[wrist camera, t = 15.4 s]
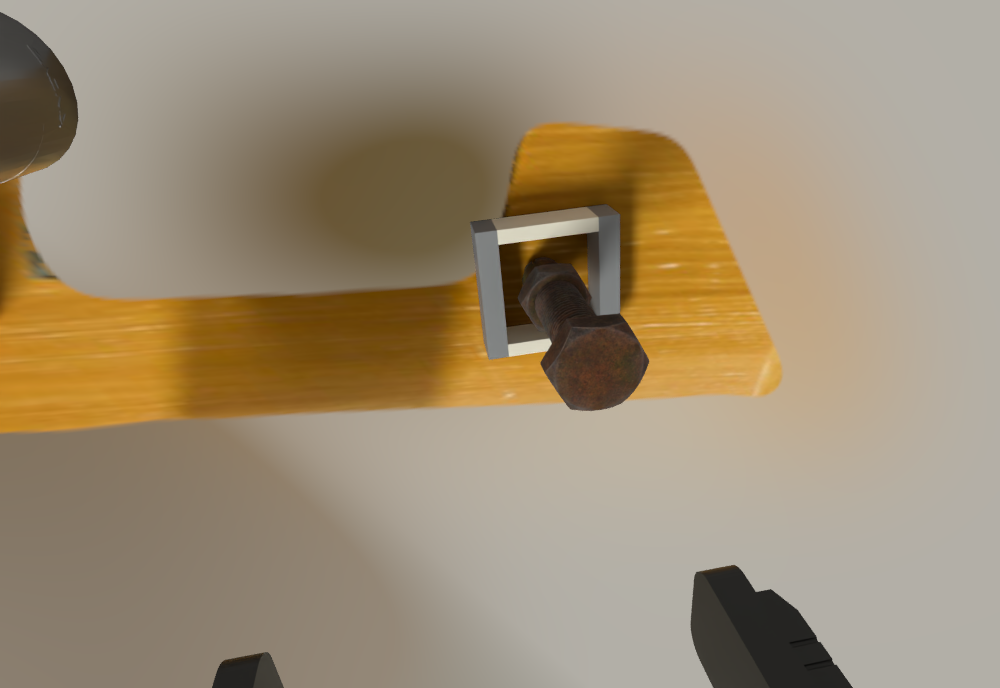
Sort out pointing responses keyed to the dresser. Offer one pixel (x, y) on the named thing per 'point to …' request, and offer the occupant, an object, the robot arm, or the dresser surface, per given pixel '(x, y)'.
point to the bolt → (581, 339)
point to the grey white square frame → (494, 232)
